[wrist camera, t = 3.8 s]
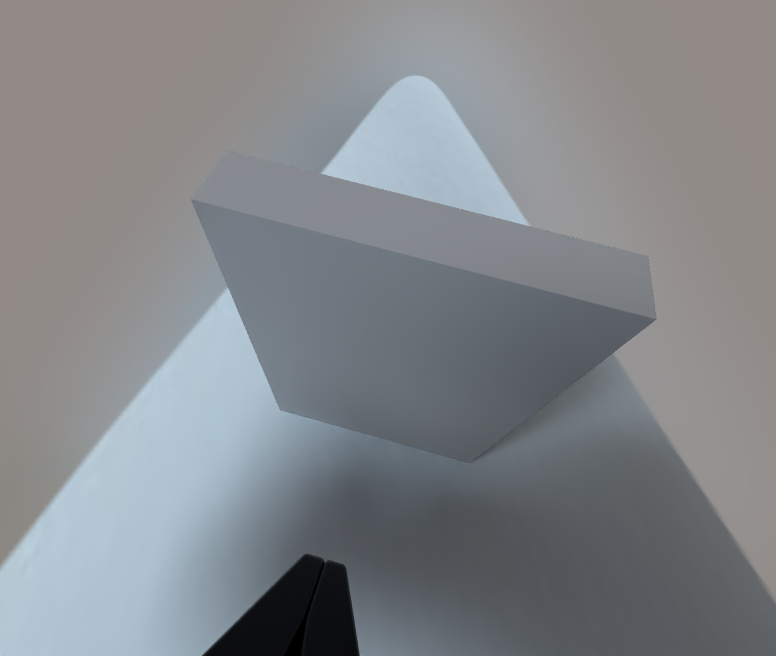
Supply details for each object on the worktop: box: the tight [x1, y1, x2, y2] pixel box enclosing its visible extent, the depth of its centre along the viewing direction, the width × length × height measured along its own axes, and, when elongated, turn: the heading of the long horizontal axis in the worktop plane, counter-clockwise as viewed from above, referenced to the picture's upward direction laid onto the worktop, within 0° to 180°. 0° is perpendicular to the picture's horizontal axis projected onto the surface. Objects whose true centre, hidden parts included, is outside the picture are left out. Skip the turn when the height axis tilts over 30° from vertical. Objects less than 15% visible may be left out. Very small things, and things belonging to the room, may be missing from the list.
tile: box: [191, 151, 656, 463], centre depth 12 cm, size 2×8×11 cm, turn 76°
